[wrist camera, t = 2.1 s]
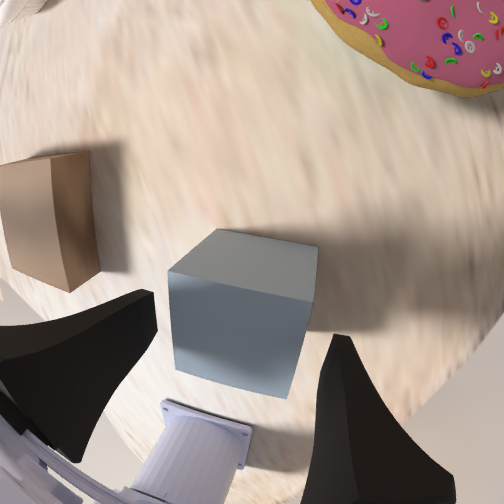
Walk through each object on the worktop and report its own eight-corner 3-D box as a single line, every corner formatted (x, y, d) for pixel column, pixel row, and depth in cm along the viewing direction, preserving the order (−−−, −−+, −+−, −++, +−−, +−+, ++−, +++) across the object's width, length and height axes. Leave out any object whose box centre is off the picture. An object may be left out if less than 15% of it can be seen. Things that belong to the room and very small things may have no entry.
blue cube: (300, 330, 15) (286, 399, 11) (213, 311, 16) (175, 369, 12) (318, 246, 13) (313, 302, 9) (217, 228, 14) (167, 270, 10)
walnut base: (103, 269, 18) (69, 293, 14) (41, 251, 19) (12, 268, 16) (93, 150, 14) (50, 158, 11) (30, 158, 16) (-5, 166, 13)
